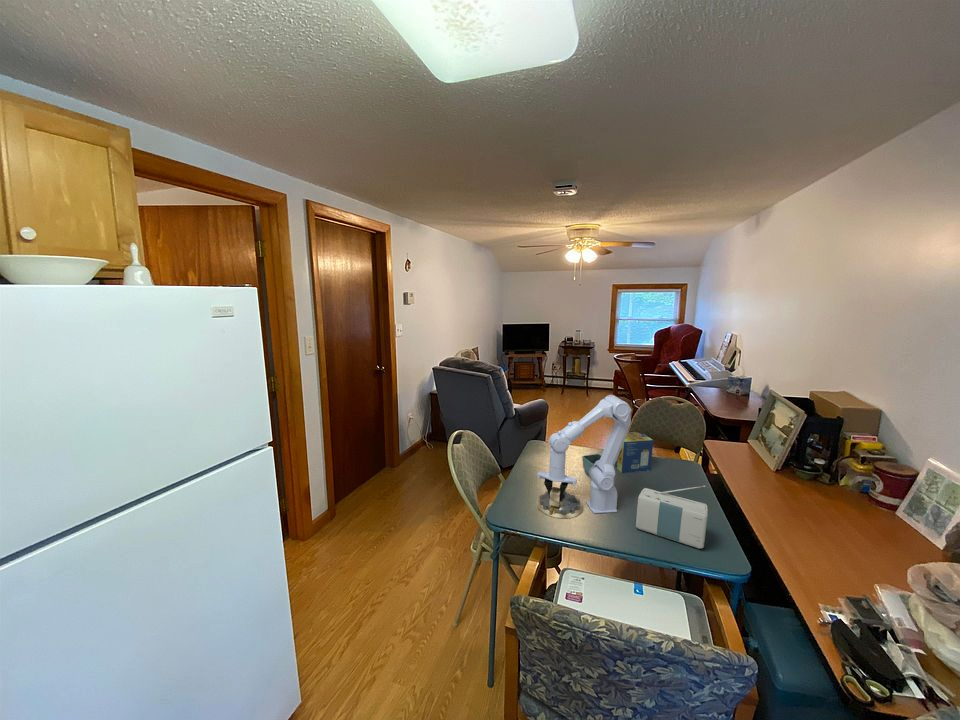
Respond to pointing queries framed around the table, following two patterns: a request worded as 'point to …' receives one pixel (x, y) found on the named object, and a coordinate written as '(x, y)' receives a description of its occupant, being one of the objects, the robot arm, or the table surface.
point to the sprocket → (561, 504)
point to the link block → (555, 497)
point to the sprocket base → (557, 515)
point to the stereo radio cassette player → (672, 517)
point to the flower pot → (589, 462)
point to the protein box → (635, 453)
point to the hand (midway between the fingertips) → (555, 498)
